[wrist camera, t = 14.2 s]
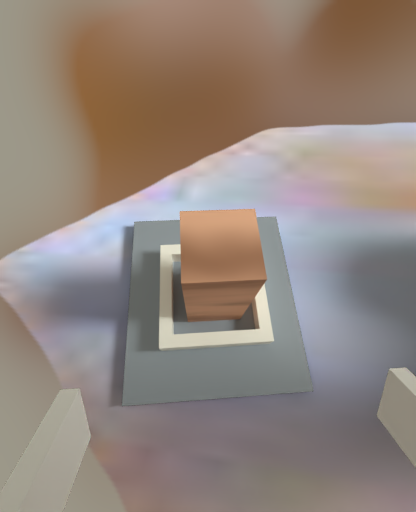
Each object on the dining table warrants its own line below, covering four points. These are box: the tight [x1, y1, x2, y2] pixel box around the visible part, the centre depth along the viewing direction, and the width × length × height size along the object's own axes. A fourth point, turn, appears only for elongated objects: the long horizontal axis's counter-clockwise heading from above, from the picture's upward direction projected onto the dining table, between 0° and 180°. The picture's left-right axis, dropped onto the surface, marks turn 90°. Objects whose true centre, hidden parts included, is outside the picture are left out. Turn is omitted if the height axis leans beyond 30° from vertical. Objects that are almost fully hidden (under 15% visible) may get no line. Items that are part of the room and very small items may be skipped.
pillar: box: [180, 209, 267, 322], centre depth 23 cm, size 6×6×12 cm
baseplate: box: [122, 217, 313, 406], centre depth 28 cm, size 20×18×3 cm
